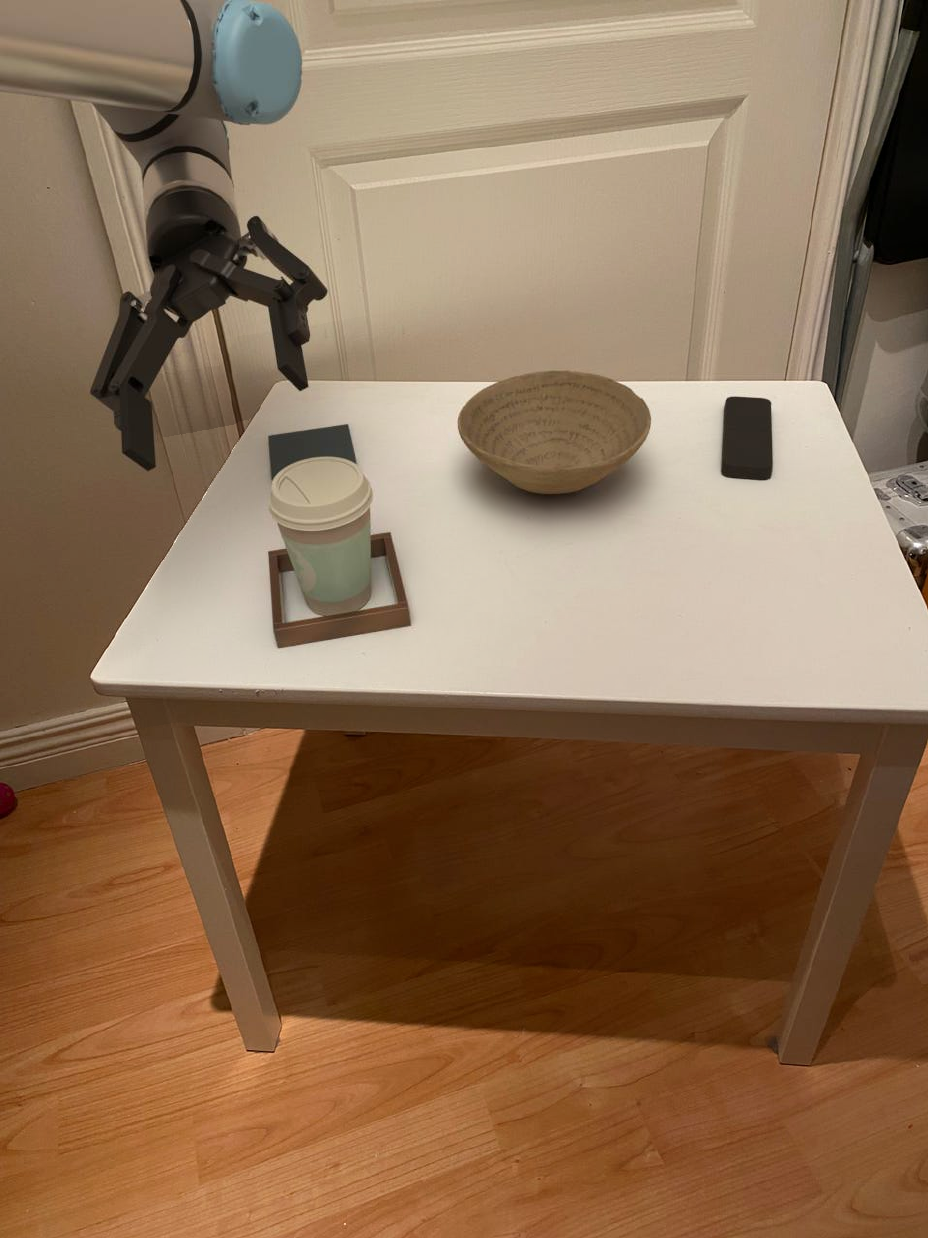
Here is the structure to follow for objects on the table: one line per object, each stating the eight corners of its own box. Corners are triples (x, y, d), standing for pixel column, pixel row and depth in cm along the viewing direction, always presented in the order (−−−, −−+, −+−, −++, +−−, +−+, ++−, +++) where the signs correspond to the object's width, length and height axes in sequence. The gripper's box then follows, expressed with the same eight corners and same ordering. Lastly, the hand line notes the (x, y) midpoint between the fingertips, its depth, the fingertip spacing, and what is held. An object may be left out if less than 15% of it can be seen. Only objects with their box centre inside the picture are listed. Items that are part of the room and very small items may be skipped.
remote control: (770, 485, 93) (769, 407, 104) (773, 470, 92) (772, 393, 103) (720, 481, 94) (724, 404, 105) (722, 466, 93) (726, 390, 104)
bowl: (455, 536, 89) (449, 463, 83) (466, 438, 103) (462, 370, 97) (652, 535, 87) (659, 460, 82) (637, 435, 101) (642, 366, 96)
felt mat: (272, 481, 98) (271, 476, 98) (268, 439, 105) (267, 435, 104) (357, 469, 99) (356, 464, 99) (348, 428, 106) (348, 423, 105)
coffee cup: (299, 567, 86) (275, 453, 79) (391, 565, 86) (376, 451, 78) (282, 628, 80) (253, 511, 72) (381, 626, 79) (363, 509, 72)
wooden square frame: (277, 648, 78) (273, 630, 77) (272, 568, 86) (267, 551, 85) (411, 625, 79) (408, 607, 78) (392, 548, 88) (390, 531, 86)
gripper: (345, 184, 77) (389, 373, 67) (108, 324, 84) (115, 514, 74) (293, 109, 70) (333, 305, 60) (42, 267, 77) (40, 466, 67)
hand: (214, 420), depth 67 cm, fingers open, 13 cm apart
